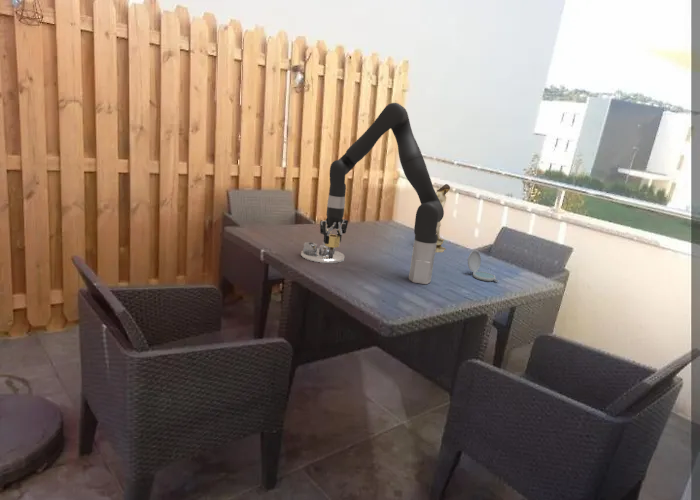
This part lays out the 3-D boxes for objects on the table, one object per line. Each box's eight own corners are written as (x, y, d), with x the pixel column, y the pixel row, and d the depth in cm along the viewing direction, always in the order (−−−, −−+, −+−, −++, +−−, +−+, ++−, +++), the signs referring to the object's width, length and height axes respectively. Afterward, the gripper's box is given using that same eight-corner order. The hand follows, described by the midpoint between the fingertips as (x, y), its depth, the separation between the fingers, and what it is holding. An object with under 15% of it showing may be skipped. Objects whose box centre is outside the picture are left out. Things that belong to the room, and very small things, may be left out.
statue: (443, 254, 246) (454, 187, 237) (410, 248, 251) (420, 182, 242) (447, 247, 262) (457, 184, 253) (416, 241, 267) (426, 179, 257)
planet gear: (337, 248, 207) (339, 238, 206) (324, 246, 207) (325, 236, 206) (339, 244, 213) (340, 235, 211) (326, 243, 213) (327, 233, 212)
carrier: (341, 265, 206) (342, 251, 204) (296, 259, 207) (297, 245, 206) (346, 254, 225) (348, 241, 223) (305, 248, 227) (306, 235, 225)
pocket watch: (480, 249, 218) (508, 258, 207) (475, 271, 220) (504, 281, 210) (467, 251, 211) (496, 260, 200) (463, 274, 214) (491, 285, 203)
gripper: (343, 204, 213) (339, 239, 217) (317, 204, 204) (314, 242, 208) (354, 207, 207) (349, 244, 211) (327, 208, 198) (323, 246, 203)
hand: (332, 243), depth 210 cm, fingers closed on planet gear, 6 cm apart
